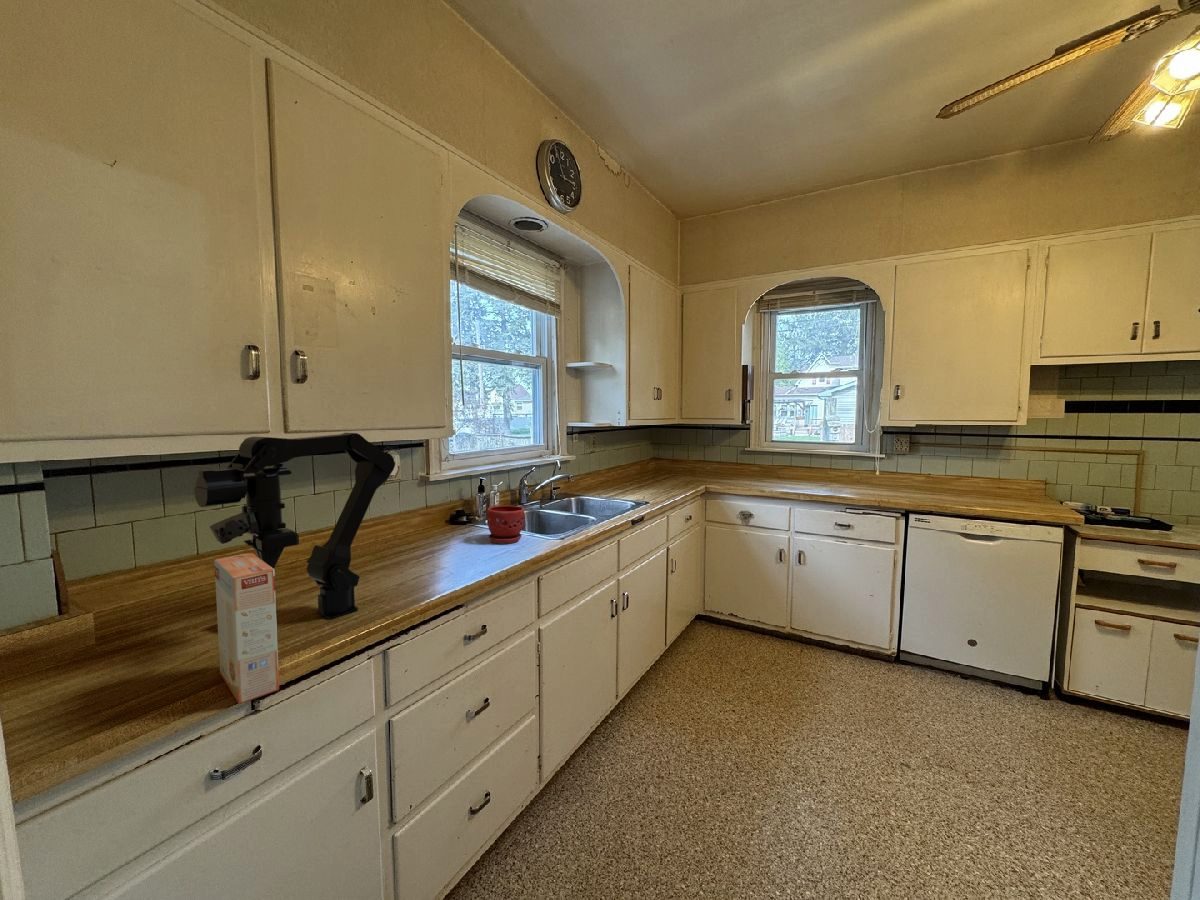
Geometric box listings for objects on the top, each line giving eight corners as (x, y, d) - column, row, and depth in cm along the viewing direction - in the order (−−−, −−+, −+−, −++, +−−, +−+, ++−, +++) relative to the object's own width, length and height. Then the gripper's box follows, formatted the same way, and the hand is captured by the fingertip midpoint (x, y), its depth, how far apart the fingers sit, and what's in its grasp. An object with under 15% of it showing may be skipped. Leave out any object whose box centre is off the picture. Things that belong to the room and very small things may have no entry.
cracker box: (282, 690, 78) (276, 567, 77) (237, 707, 74) (229, 577, 72) (260, 660, 88) (254, 550, 86) (219, 673, 83) (211, 558, 82)
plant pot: (515, 546, 162) (515, 512, 161) (480, 544, 165) (480, 510, 164) (530, 537, 175) (529, 505, 174) (497, 534, 178) (497, 503, 177)
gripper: (201, 498, 95) (206, 574, 96) (226, 511, 83) (231, 598, 84) (266, 491, 103) (270, 561, 104) (298, 502, 91) (301, 580, 93)
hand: (267, 574), depth 96 cm, fingers closed
